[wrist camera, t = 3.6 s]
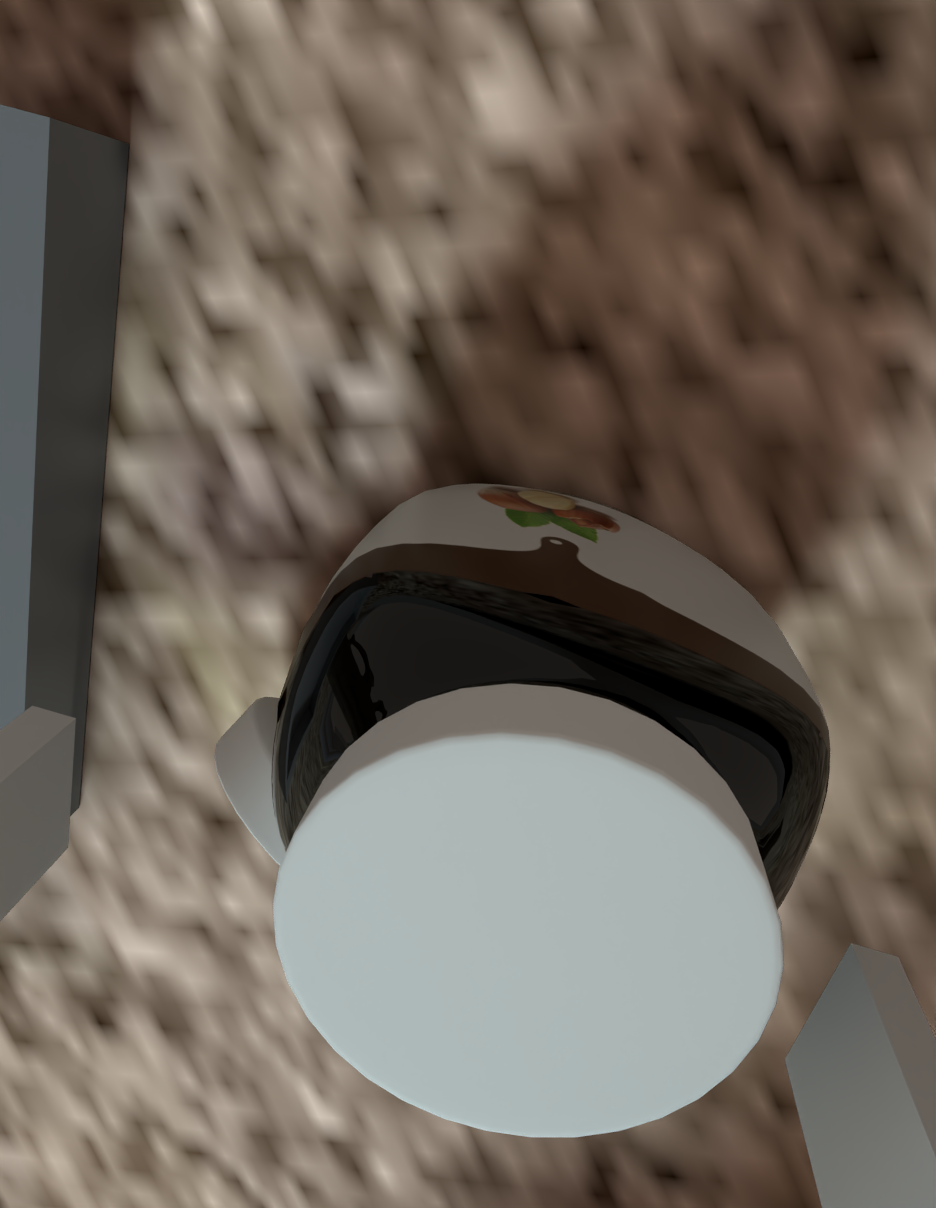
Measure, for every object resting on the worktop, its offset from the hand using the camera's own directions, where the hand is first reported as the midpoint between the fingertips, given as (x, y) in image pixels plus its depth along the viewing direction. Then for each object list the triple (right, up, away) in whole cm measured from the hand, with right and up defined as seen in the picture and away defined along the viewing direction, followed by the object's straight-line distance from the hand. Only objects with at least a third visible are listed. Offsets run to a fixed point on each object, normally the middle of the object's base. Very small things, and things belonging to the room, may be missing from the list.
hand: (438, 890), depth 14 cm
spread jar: (+1, +3, +9) cm, 10 cm away
